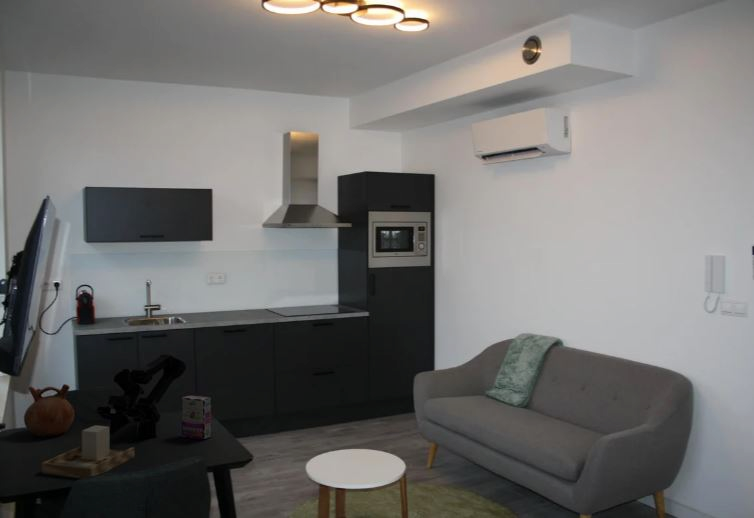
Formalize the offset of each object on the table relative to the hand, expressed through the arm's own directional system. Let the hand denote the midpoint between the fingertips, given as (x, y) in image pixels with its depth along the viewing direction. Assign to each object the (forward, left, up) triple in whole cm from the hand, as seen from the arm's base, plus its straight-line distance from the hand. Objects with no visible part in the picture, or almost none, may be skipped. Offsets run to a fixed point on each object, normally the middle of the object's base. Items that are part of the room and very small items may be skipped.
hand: (111, 434), depth 244 cm
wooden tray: (+7, +9, -8) cm, 14 cm away
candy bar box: (-33, -8, -8) cm, 35 cm away
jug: (+21, -37, -8) cm, 44 cm away
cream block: (+5, +6, -6) cm, 10 cm away
